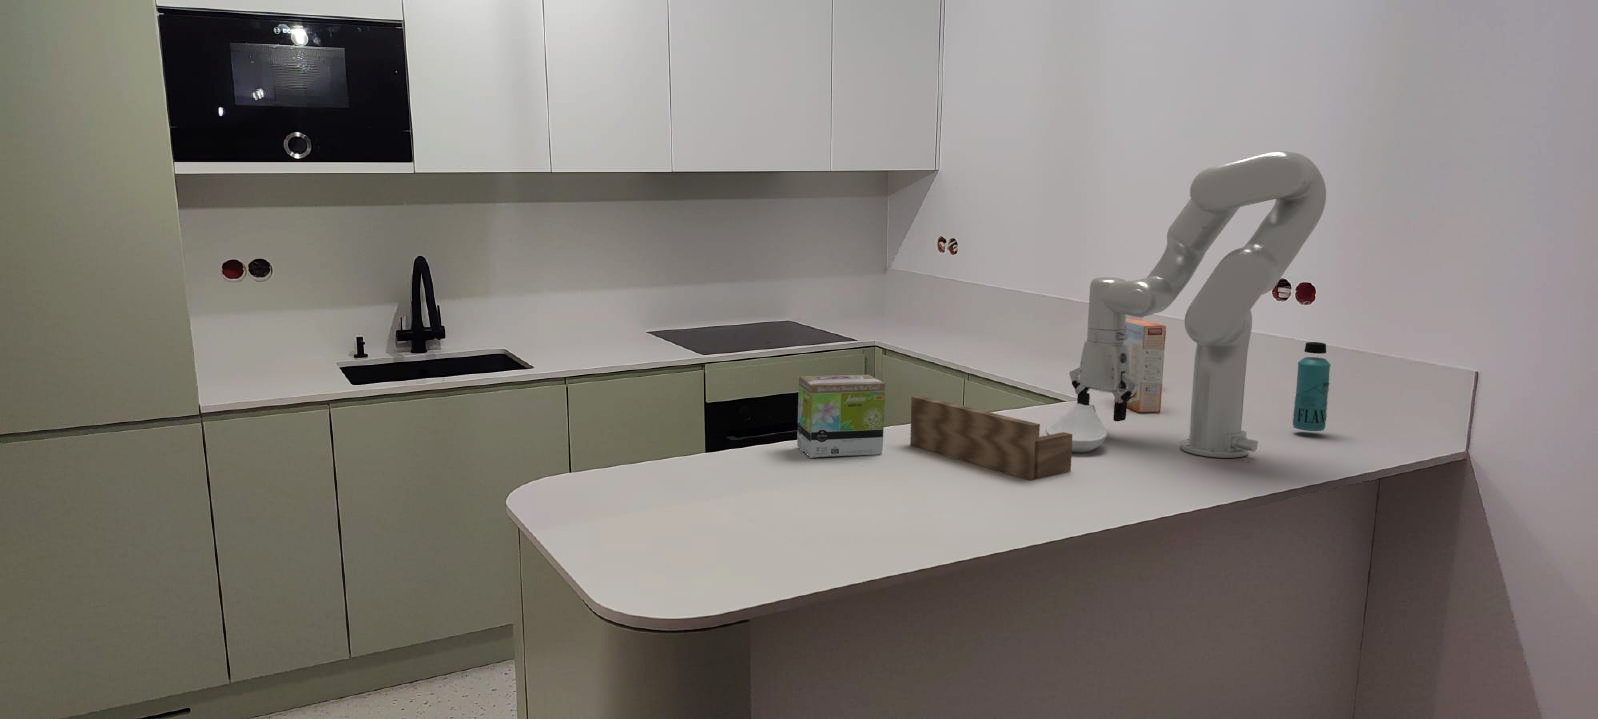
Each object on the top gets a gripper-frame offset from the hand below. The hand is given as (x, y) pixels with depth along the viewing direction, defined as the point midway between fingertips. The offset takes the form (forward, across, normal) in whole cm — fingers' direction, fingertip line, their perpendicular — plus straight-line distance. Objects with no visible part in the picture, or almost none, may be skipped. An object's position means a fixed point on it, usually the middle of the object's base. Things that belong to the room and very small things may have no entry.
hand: (1100, 416), depth 220 cm
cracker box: (+4, +14, -31) cm, 34 cm away
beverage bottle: (+4, -25, -38) cm, 45 cm away
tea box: (+5, +19, +55) cm, 58 cm away
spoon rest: (+4, -2, +10) cm, 11 cm away
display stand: (+4, -1, +34) cm, 35 cm away
